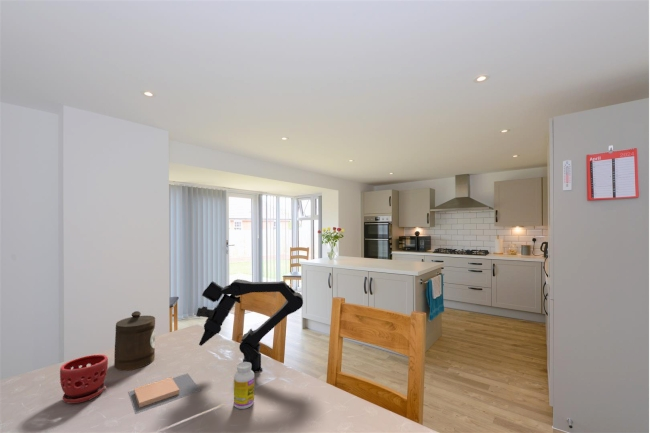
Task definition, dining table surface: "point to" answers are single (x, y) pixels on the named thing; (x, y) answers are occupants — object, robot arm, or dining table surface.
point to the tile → (156, 391)
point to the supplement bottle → (244, 386)
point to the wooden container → (134, 342)
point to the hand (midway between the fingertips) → (200, 345)
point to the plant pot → (83, 378)
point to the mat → (185, 389)
